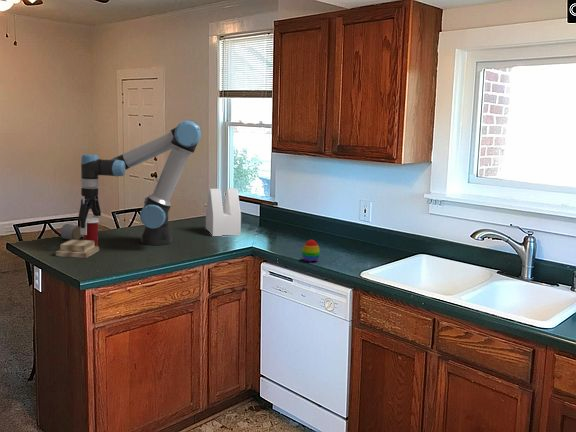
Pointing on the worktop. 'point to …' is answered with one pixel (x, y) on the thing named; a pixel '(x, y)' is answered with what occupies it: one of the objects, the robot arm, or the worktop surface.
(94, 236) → the paper cup
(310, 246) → the decorative egg
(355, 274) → the worktop surface
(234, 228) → the white slotted block
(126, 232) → the worktop surface
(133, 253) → the worktop surface
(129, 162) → the robot arm
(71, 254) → the maple pedestal
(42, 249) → the worktop surface
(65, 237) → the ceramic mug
